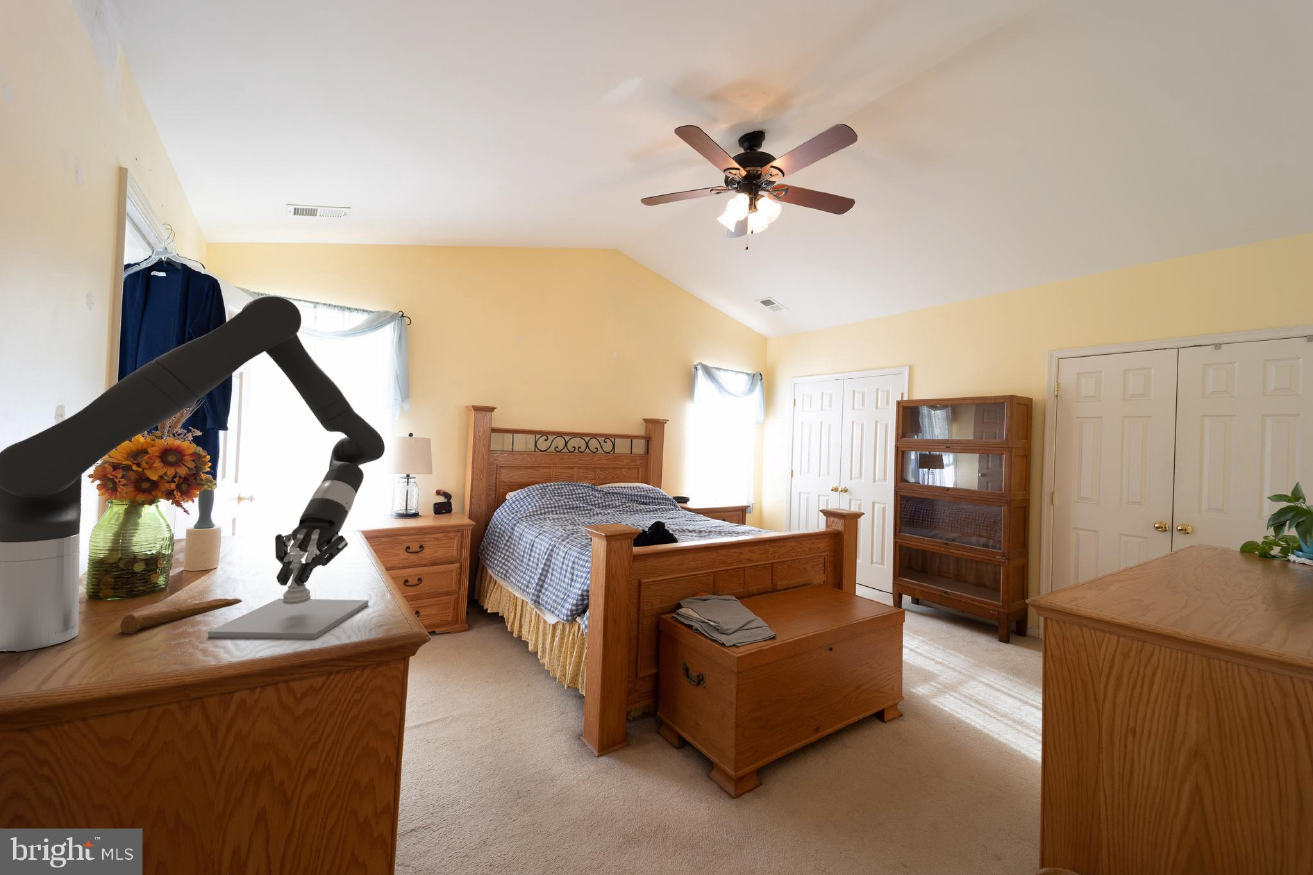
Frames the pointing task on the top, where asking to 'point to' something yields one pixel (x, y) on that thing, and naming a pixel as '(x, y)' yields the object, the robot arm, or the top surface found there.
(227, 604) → the primitive tool
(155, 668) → the top surface
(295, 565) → the chess piece
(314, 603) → the slate tile
